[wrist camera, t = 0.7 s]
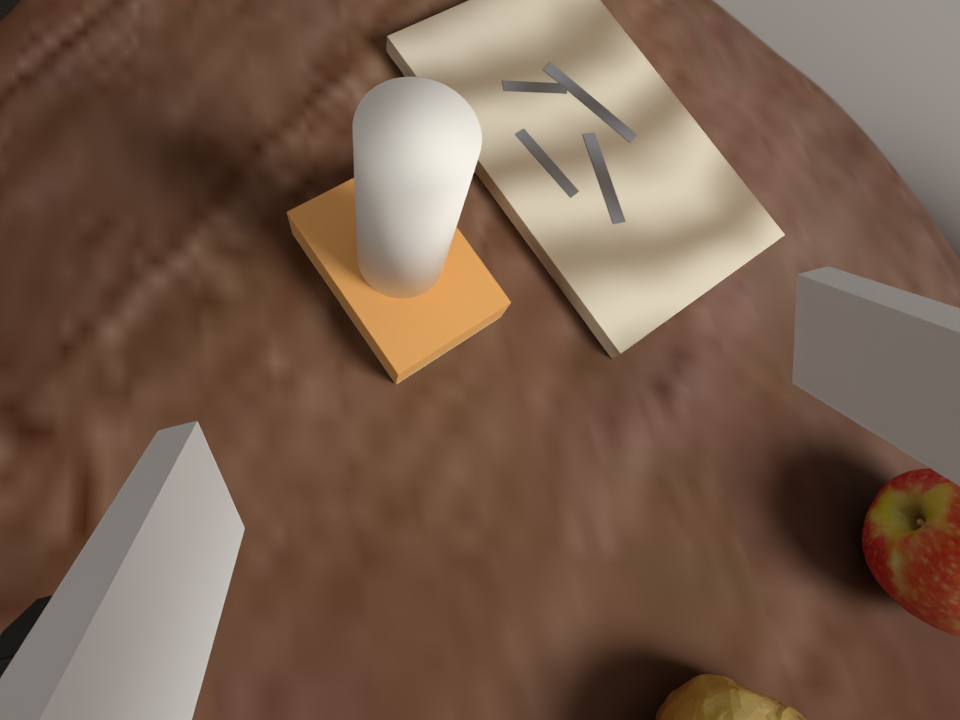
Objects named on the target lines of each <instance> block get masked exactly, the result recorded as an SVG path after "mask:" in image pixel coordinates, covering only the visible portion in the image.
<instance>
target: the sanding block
mask: <svg viewBox="0 0 960 720" xmlns="http://www.w3.org/2000/svg"><path fill="white" fill-rule="evenodd" d="M481 145H482V133H481V127H480V124H479V121H478V118H477V116H476V114H475V112H474V111H473V109H472V108H471V106H470V105H469V104H468V103H467V101H466V100H465V99H464V98H463V97H462V96H461V95H460V94H458V93H457V92H456V91H454V90H453V89H451V88H449V87H448V86H446V85H444V84H442V83H440V82H437V81H434V80H431V79H427V78H422V77H399V78H394V79H390V80H388V81H385V82H383V83H381V84H379V85H377V86H375V87H374V88H373V89H371V90H370V91H369V92H368V93H367V94H366V95H365V96H364V97H363V98H362V100H361V101H360V103H359V105H358V106H357V108H356V111H355V114H354V119H353V156H354V178H352V179H350V180H348V181H346V182H345V183H343V184H341V185H339V186H337V187H335V188H333V189H331V190H329V191H327V192H325V193H323V194H321V195H319V196H317V197H315V198H313V199H311V200H309V201H307V202H305V203H303V204H301V205H299V206H297V207H295V208H293V209H292V210H290V211H288V212H287V215H288V219H289V223H290V227H291V231H292V234H293V235H294V237H295V238H296V240H297V241H298V243H299V244H300V246H301V247H302V249H303V250H304V252H305V253H306V254H307V256H308V257H309V259H310V260H311V262H312V263H313V265H314V266H315V268H316V269H317V270H318V272H319V273H320V275H321V276H322V278H323V279H324V281H325V282H326V284H327V285H328V287H329V288H330V289H331V291H332V292H333V294H334V295H335V297H336V298H337V300H338V301H339V303H340V304H341V305H342V307H343V308H344V310H345V311H346V313H347V314H348V316H349V317H350V319H351V320H352V322H353V323H354V324H355V326H356V327H357V329H358V330H359V332H360V333H361V335H362V336H363V338H364V339H365V340H366V342H367V343H368V345H369V346H370V348H371V349H372V351H373V352H374V354H375V355H376V357H377V358H378V359H379V361H380V362H381V364H382V365H383V367H384V368H385V370H386V371H387V373H388V374H389V375H390V377H391V378H392V380H393V381H394V383H395V384H398V383H399V382H401V381H402V380H404V379H405V378H407V377H409V376H410V375H412V374H413V373H415V372H416V371H418V370H419V369H421V368H423V367H424V366H426V365H427V364H429V363H430V362H432V361H433V360H435V359H437V358H438V357H440V356H441V355H443V354H444V353H446V352H447V351H449V350H450V349H452V348H454V347H455V346H457V345H458V344H460V343H461V342H463V341H464V340H466V339H468V338H469V337H471V336H472V335H474V334H475V333H477V332H478V331H480V330H481V329H483V328H485V327H486V326H488V325H489V324H491V323H492V322H494V321H495V320H497V319H499V318H500V317H501V316H502V315H503V313H504V312H505V310H506V309H507V307H508V306H509V305H510V303H511V302H510V300H509V299H508V298H507V296H506V295H505V293H504V292H503V291H502V289H501V288H500V286H499V285H498V284H497V282H496V281H495V279H494V278H493V277H492V275H491V274H490V273H489V271H488V270H487V268H486V267H485V266H484V264H483V263H482V261H481V260H480V259H479V257H478V256H477V254H476V253H475V252H474V250H473V249H472V248H471V246H470V245H469V243H468V242H467V241H466V239H465V238H464V236H463V235H462V234H461V232H460V231H459V229H458V228H457V227H456V226H457V223H458V220H459V217H460V214H461V211H462V208H463V205H464V201H465V198H466V195H467V192H468V189H469V186H470V183H471V180H472V177H473V173H474V170H475V167H476V164H477V161H478V158H479V155H480V151H481Z"/></svg>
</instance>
